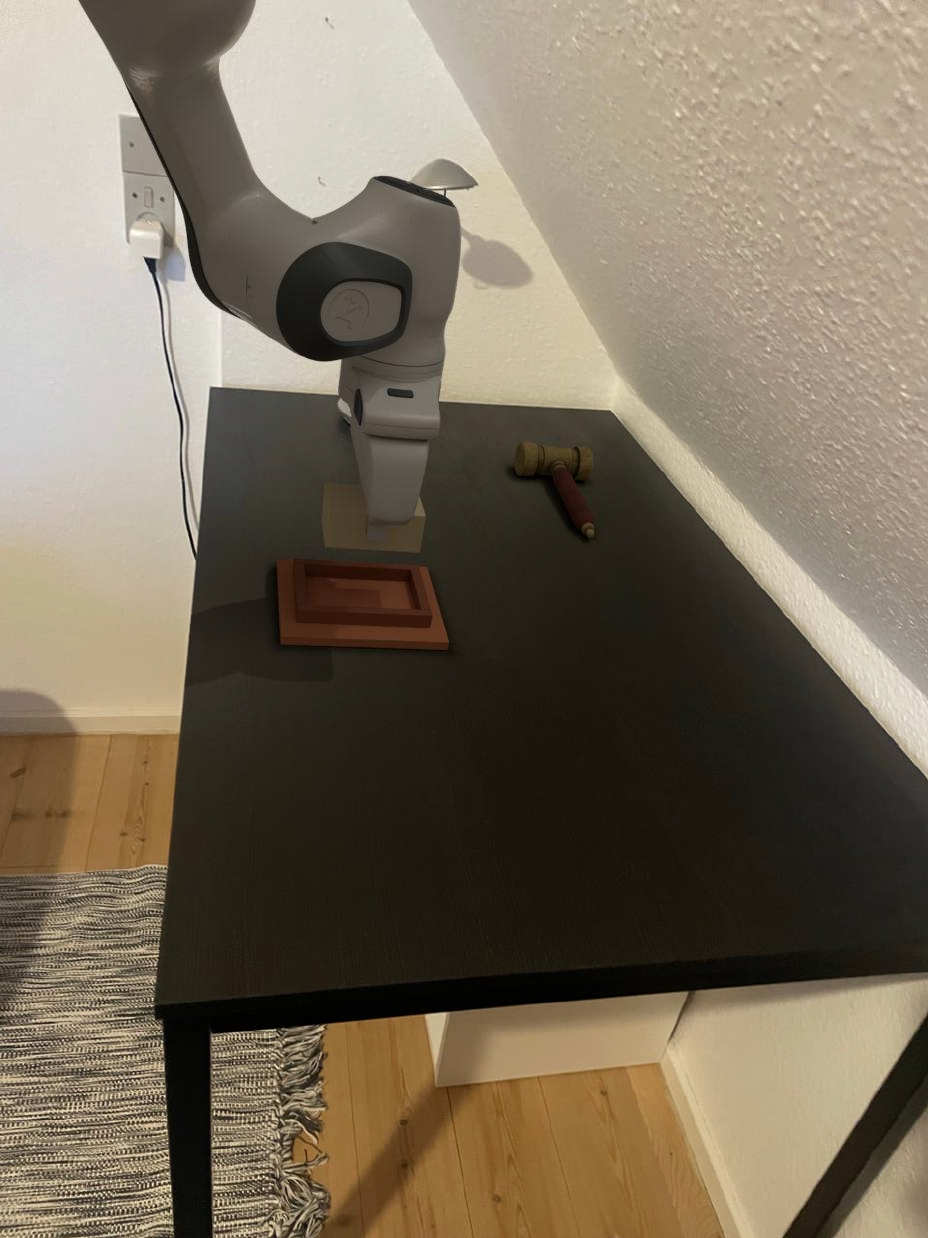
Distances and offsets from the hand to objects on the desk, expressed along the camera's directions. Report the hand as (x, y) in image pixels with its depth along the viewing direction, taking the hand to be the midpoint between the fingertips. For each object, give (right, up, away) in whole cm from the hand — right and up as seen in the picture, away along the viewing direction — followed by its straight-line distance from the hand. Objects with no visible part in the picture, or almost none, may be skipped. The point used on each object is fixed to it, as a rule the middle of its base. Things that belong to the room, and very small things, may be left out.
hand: (371, 520), depth 90 cm
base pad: (-2, -8, +5) cm, 10 cm away
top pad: (0, -1, +1) cm, 2 cm away
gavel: (+22, +6, +35) cm, 42 cm away
